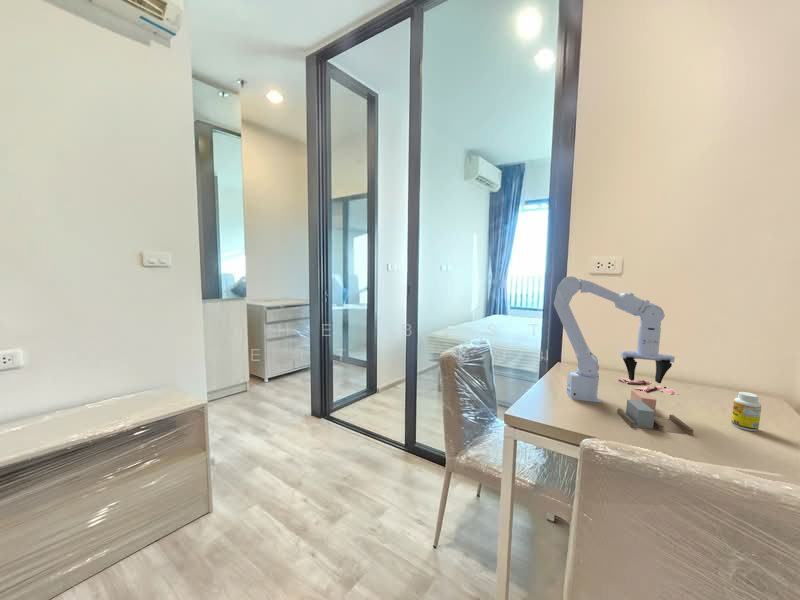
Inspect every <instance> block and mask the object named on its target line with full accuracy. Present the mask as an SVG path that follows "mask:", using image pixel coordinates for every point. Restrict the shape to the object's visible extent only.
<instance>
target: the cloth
mask: <svg viewBox="0 0 800 600" xmlns="http://www.w3.org/2000/svg"><path fill="white" fill-rule="evenodd" d="M621 378H622V379H624V381H623V380H622V379H619V378H618V380H619V381H618V382H622V383H623V382H624V384H626V382H628V383H627V384H626V385H641V384H645V386H642V387H635V388H634V389H633V390H641V391H643V390H644V391H645V392H647V393H649V392H651V391H650V390H652V391H656V390H655V389H657V390H658V391H659V390H661V389H662V390H663V392H665V393H668V394H673V395H676V394H680V393H679V392H678V391H676V390H675V389H673V388H671V389H664V387H665V386H664V387H660V386H661V385H660V386H654V387H651V386H650V387H649V386H647V385H650V384H655V382H650V381H648V380H647V381H646V380H644V379H639V380H638V379H634V380H635V381H631V380H630V379H629V378H627V377H621ZM627 379H628V380H627ZM663 392H662V393H663ZM665 393H664V394H665ZM668 394H667V395H668Z"/></svg>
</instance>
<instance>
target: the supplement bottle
mask: <svg viewBox="0 0 800 600" xmlns="http://www.w3.org/2000/svg"><path fill="white" fill-rule="evenodd" d="M761 412H762V403H761V402H759V396H758V394H754V393H752V392H748V391H747V392H745V391H739V392H738V395H737V397H735V398H734V399H733V405H732V415H731V425H732V426H733V427H736V428H738V429H741V430H744V431H747V432H749V431H750V432H757V431H758V430H759V427H760V420H761Z"/></svg>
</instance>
